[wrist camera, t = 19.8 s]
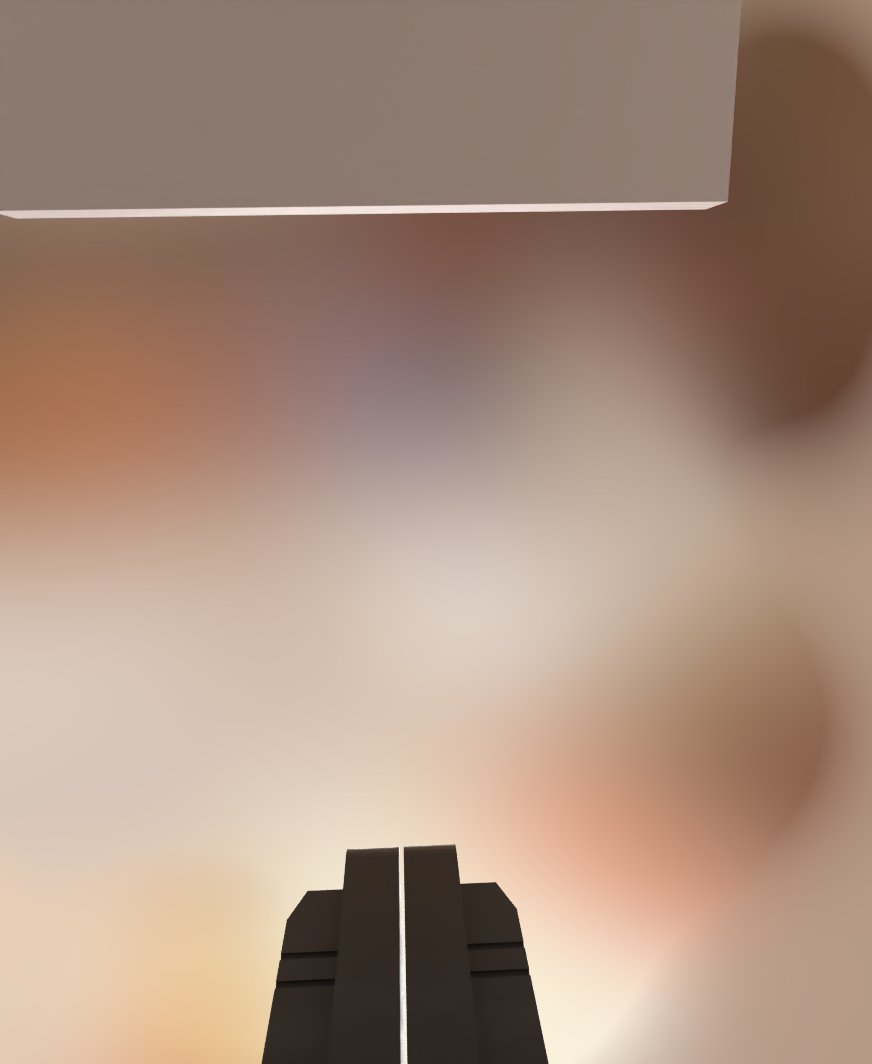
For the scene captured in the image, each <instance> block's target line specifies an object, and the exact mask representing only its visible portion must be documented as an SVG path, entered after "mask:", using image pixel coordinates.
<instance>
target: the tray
mask: <svg viewBox="0 0 872 1064" xmlns="http://www.w3.org/2000/svg"><path fill="white" fill-rule="evenodd" d="M740 13H741V0H0V214H2V215H6V216H10V217H13V218H77V217H152V216H223V215H225V216H226V215H300V214H373V213H374V214H378V213H453V212H524V211H527V212H529V211H601V210H602V211H604V210H673V209H676V210H679V209H708V208H710V207H713V206H716V205H719V204H722V203H725V202H727V201H728V188H729V173H730V159H731V144H732V130H733V115H734V101H735V86H736V71H737V57H738V42H739V28H740Z"/></svg>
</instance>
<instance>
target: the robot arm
mask: <svg viewBox="0 0 872 1064" xmlns="http://www.w3.org/2000/svg"><path fill="white" fill-rule="evenodd" d="M399 859H400V858H399V847H389V848H368V849H347V853H346V863H345V874H344V885H343V889H342V890H321V891H307V893H306V894H305V896H304V897H303V898H302V900H301V901H300V903H299V904H298V905H297V907H296V908H295V910H294V911H293V912H292V914H291V915H290V917H289V918H288V919H287V923H286V929H285V934H284V940H283V946H282V951H281V960H280V962H279V968H278V974H277V979H276V989H275V991H274V997H273V1002H272V1008H271V1013H270V1019H269V1025H268V1030H267V1036H266V1042H265V1048H264V1053H263V1059H262V1064H404V1032H403V967H402V965H403V963H402V926H401V891H400V860H399ZM404 888H405V889H404V890H405V948H406V1001H407V1002H406V1004H407V1056H408V1057H407V1060H408V1061H407V1062H408V1064H548V1059H547V1054H546V1049H545V1044H544V1040H543V1035H542V1030H541V1025H540V1020H539V1015H538V1010H537V1005H536V1001H535V996H534V991H533V986H532V982H531V976H530V975H529V966H528V961H527V957H526V952H525V948H524V945H523V937H522V932H521V928H520V923H519V918H518V913H517V909H516V907H515V906H514V905H513V904H512V902H511V901H510V900H509V899H508V897H507V896H506V895H505V893H504V892H503V891H502V890H501V888H500V887H499V886H498V885H497V883H496V882H493V883H470V884H460V878H459V870H458V861H457V852H456V846H455V844H454V845H430V846H408V847H404Z"/></svg>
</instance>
